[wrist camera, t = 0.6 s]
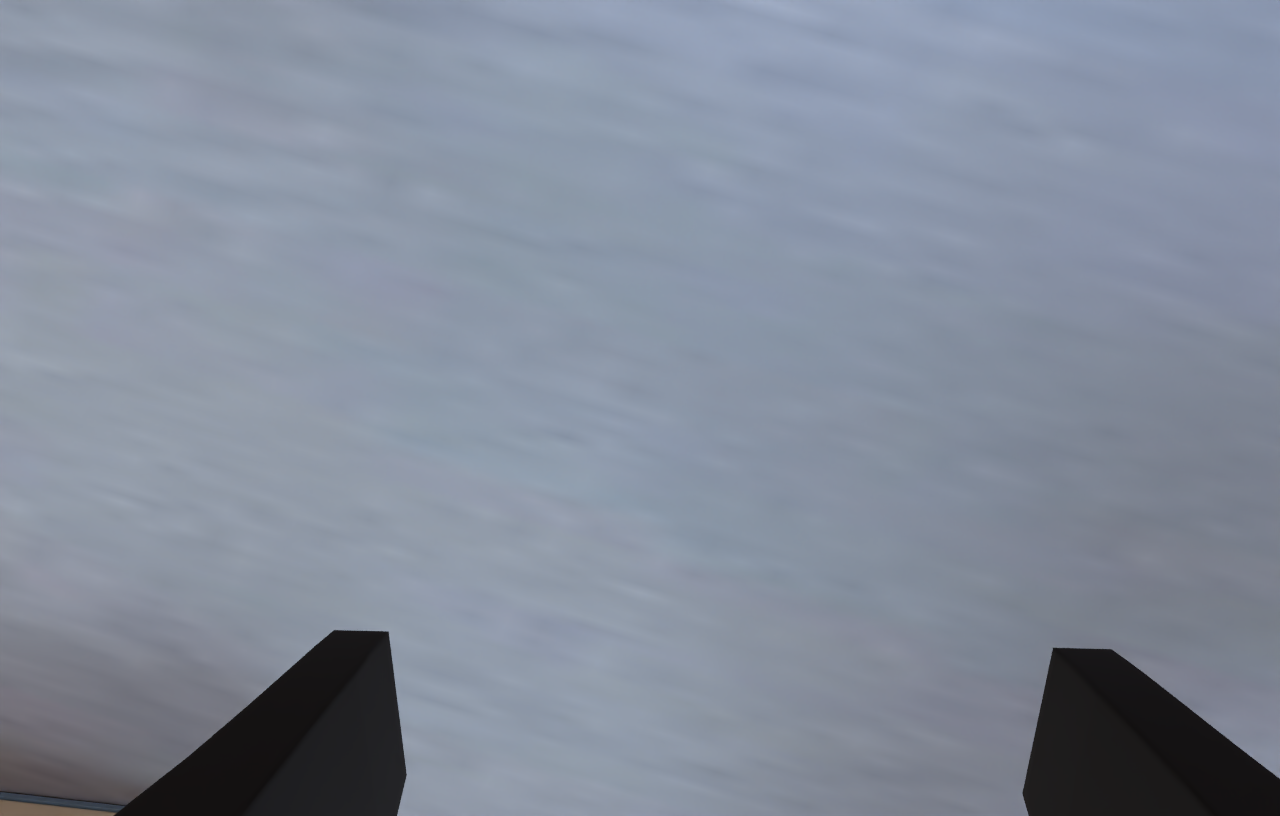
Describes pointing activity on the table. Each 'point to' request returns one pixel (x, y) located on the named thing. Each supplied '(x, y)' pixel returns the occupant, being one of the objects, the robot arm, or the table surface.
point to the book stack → (51, 806)
